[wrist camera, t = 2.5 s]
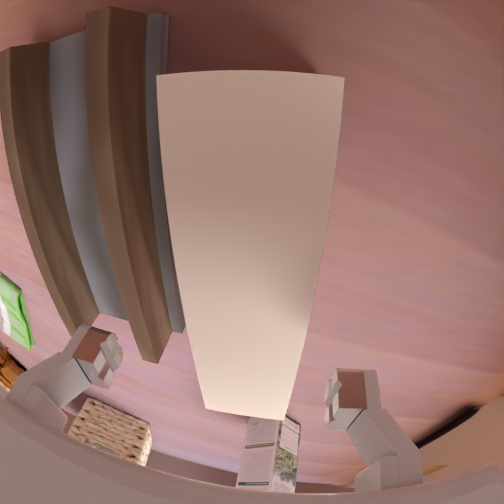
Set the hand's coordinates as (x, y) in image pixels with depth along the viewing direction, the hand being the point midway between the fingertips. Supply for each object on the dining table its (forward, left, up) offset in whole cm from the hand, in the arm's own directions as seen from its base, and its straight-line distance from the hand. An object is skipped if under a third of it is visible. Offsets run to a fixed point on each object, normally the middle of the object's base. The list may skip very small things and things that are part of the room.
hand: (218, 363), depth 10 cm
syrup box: (-5, +32, -12) cm, 34 cm away
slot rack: (+12, 0, -12) cm, 17 cm away
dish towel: (+46, +18, -13) cm, 51 cm away
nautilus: (+56, +46, -12) cm, 73 cm away
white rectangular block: (-1, 0, -12) cm, 12 cm away
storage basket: (+27, +55, -12) cm, 62 cm away
